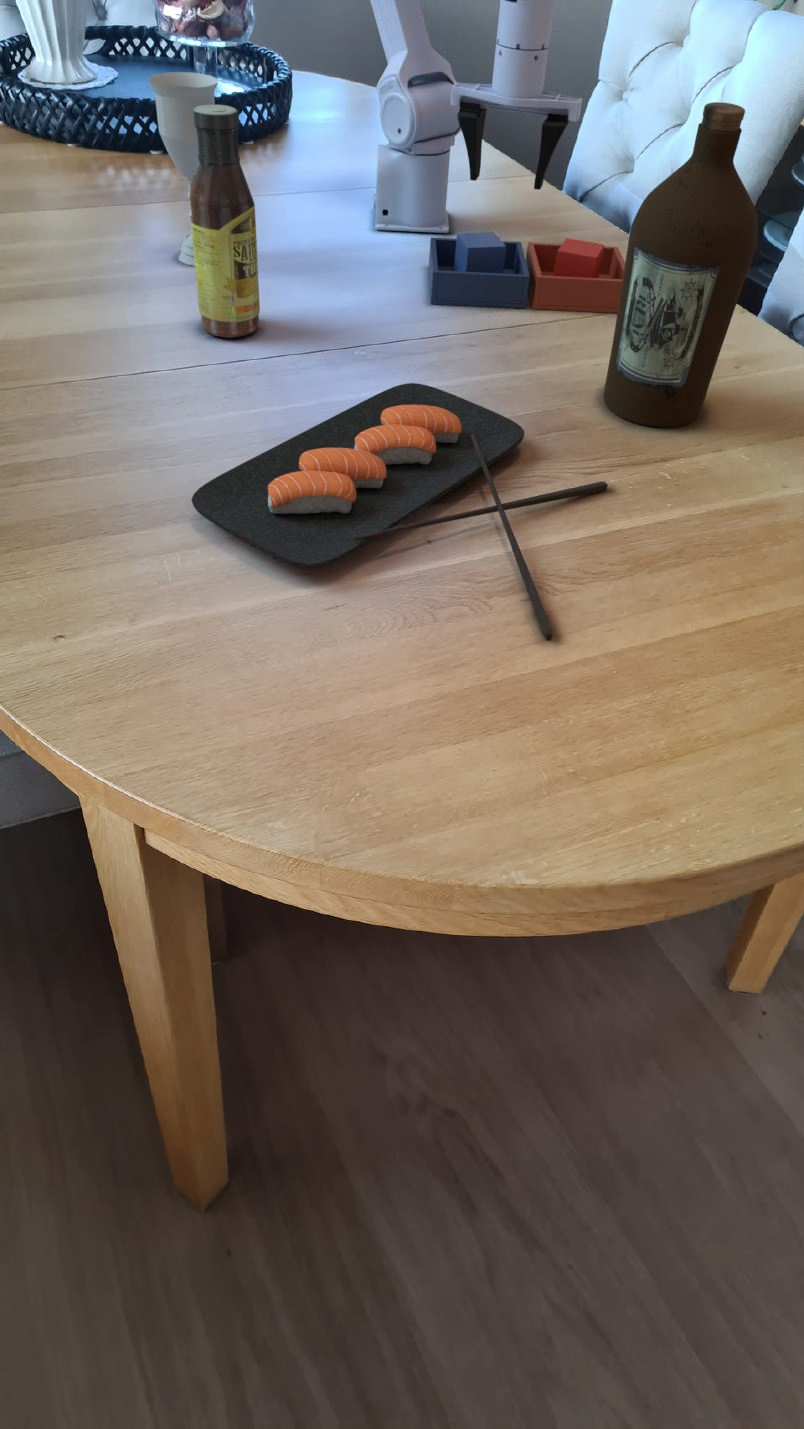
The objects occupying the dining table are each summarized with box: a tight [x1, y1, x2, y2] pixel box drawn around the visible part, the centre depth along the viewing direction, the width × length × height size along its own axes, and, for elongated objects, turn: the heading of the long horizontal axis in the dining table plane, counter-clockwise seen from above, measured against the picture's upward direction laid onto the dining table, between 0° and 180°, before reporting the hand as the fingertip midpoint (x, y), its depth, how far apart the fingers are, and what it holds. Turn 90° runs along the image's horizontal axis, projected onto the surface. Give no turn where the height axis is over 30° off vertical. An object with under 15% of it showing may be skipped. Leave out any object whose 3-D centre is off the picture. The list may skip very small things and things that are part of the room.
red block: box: [554, 237, 605, 278], centre depth 110 cm, size 4×4×4 cm
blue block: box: [454, 231, 506, 274], centre depth 110 cm, size 4×4×4 cm
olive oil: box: [603, 101, 759, 428], centre depth 84 cm, size 11×11×25 cm
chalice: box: [147, 71, 219, 267], centre depth 108 cm, size 7×7×18 cm
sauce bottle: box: [189, 104, 261, 339], centre depth 94 cm, size 7×6×20 cm
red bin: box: [525, 242, 625, 314], centre depth 111 cm, size 11×11×4 cm
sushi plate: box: [191, 382, 609, 640], centre depth 76 cm, size 29×30×4 cm
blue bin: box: [428, 237, 530, 309], centre depth 110 cm, size 11×11×4 cm
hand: (506, 182), depth 114 cm, fingers open, 7 cm apart
